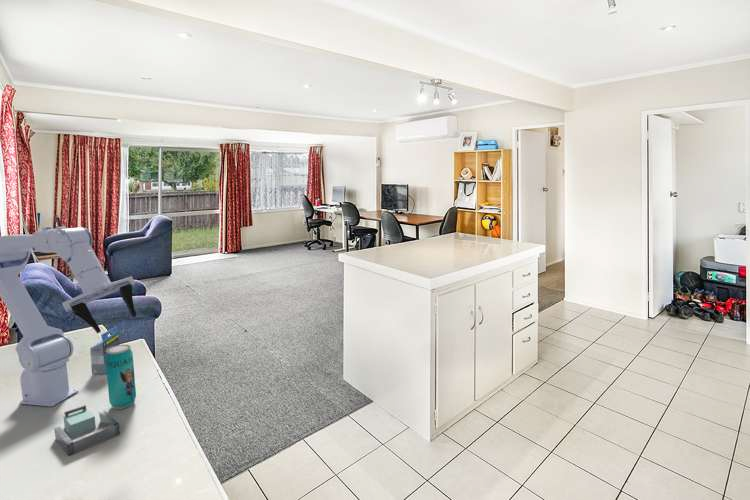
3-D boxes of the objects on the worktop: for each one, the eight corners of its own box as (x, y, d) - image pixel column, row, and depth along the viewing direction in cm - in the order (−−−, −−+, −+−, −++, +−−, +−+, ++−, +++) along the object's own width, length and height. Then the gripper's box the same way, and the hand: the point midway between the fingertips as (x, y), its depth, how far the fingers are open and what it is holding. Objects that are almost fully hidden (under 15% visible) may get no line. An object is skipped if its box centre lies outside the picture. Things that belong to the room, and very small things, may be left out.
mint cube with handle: (64, 428, 92) (62, 412, 91) (87, 420, 95) (86, 404, 95) (72, 437, 89) (70, 420, 88) (95, 428, 92) (94, 412, 92)
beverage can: (124, 411, 99) (118, 353, 96) (104, 409, 100) (98, 351, 98) (141, 400, 104) (137, 345, 102) (122, 397, 105) (118, 343, 103)
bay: (55, 439, 88) (54, 428, 87) (105, 419, 95) (104, 410, 95) (68, 455, 82) (67, 444, 82) (120, 434, 90) (119, 423, 89)
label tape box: (107, 362, 127) (104, 325, 125) (121, 362, 127) (118, 324, 125) (91, 375, 118) (87, 335, 116) (106, 374, 118) (102, 334, 117)
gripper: (51, 281, 87) (81, 336, 86) (123, 256, 96) (151, 305, 95) (54, 290, 92) (82, 341, 92) (122, 265, 101) (148, 312, 101)
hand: (117, 323), depth 94 cm, fingers open, 7 cm apart
